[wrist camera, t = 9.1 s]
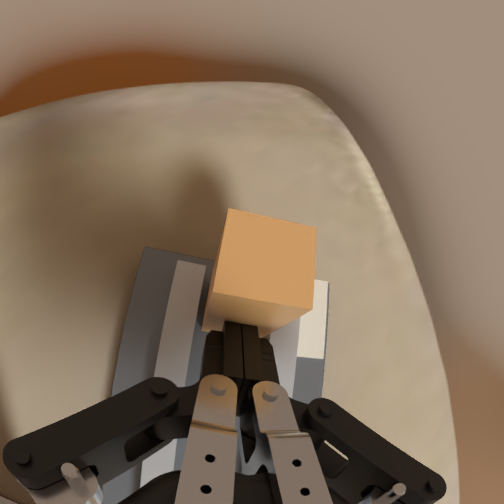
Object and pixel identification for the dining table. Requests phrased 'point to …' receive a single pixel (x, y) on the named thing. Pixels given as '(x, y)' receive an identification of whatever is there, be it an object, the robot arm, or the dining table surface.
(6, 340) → the dining table surface
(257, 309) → the switch tab
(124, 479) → the switch panel
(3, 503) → the ink cartridge box
